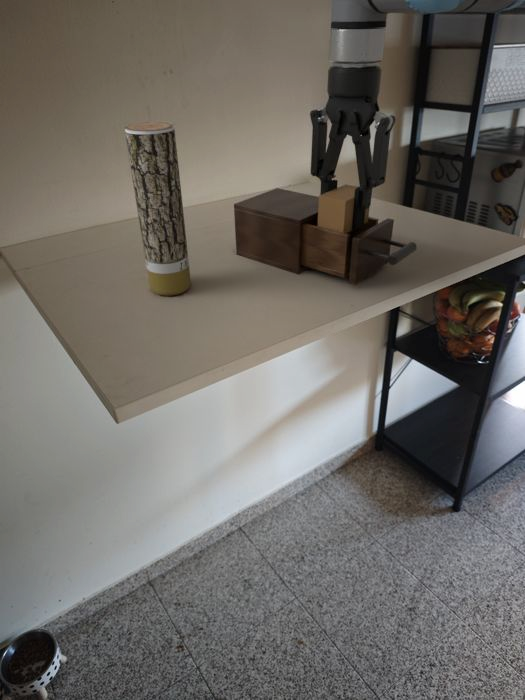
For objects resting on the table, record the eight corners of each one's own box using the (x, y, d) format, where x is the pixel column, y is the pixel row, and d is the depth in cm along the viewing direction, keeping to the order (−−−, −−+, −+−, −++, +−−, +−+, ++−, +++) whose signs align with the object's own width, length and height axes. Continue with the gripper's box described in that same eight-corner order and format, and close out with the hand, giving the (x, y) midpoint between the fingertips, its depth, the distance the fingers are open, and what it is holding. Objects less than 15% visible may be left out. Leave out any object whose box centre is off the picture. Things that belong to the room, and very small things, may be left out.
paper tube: (152, 300, 79) (125, 131, 66) (148, 282, 85) (123, 123, 71) (194, 294, 81) (176, 128, 67) (188, 277, 86) (171, 120, 73)
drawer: (418, 270, 85) (425, 226, 80) (386, 295, 78) (392, 247, 73) (324, 245, 95) (326, 204, 91) (288, 264, 88) (288, 221, 84)
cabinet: (337, 251, 95) (341, 201, 89) (298, 274, 87) (299, 220, 81) (277, 235, 102) (277, 187, 97) (236, 254, 94) (233, 204, 89)
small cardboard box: (343, 215, 88) (345, 184, 85) (368, 221, 85) (371, 189, 82) (317, 228, 83) (318, 195, 80) (343, 235, 80) (345, 201, 77)
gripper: (426, 65, 68) (402, 229, 81) (317, 60, 78) (311, 208, 91) (401, 69, 63) (380, 242, 76) (288, 64, 73) (286, 219, 86)
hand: (343, 223), depth 84 cm, fingers closed on small cardboard box, 5 cm apart
